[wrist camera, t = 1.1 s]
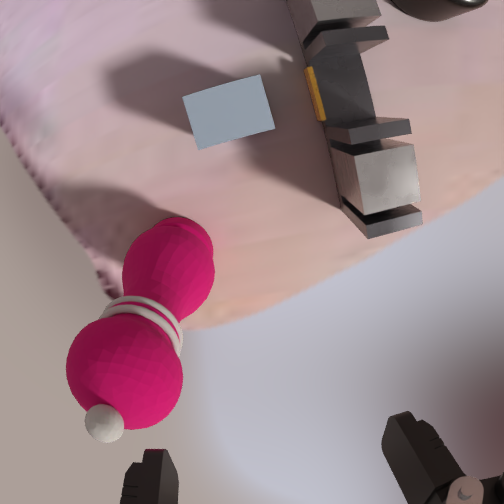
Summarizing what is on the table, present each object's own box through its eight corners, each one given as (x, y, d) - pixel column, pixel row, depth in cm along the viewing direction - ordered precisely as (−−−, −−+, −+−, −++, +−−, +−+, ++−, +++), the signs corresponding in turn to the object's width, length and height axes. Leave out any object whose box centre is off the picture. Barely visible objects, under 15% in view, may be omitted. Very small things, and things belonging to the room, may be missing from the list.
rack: (276, -13, 20) (284, -49, 13) (330, -19, 19) (353, -53, 13) (337, 211, 28) (362, 240, 21) (386, 199, 27) (422, 224, 21)
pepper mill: (234, 238, 29) (215, 438, 10) (194, 297, 31) (149, 491, 13) (163, 196, 27) (31, 345, 9) (129, 260, 29) (21, 428, 11)
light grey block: (199, 102, 24) (182, 96, 18) (256, 86, 24) (259, 74, 17) (211, 142, 25) (198, 150, 19) (268, 126, 25) (275, 128, 18)
